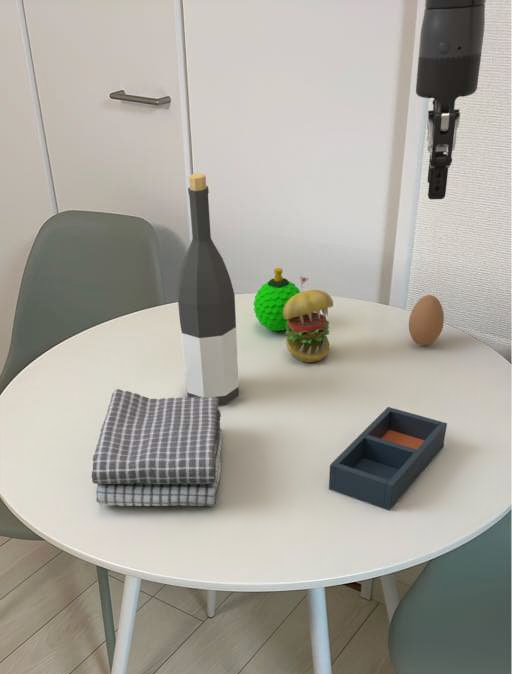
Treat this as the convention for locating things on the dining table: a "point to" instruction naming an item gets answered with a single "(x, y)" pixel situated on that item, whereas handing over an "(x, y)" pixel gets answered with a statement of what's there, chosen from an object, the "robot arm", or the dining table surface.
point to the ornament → (274, 301)
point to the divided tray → (387, 457)
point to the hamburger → (307, 324)
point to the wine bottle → (207, 309)
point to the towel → (158, 451)
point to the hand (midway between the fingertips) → (435, 190)
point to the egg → (426, 320)
